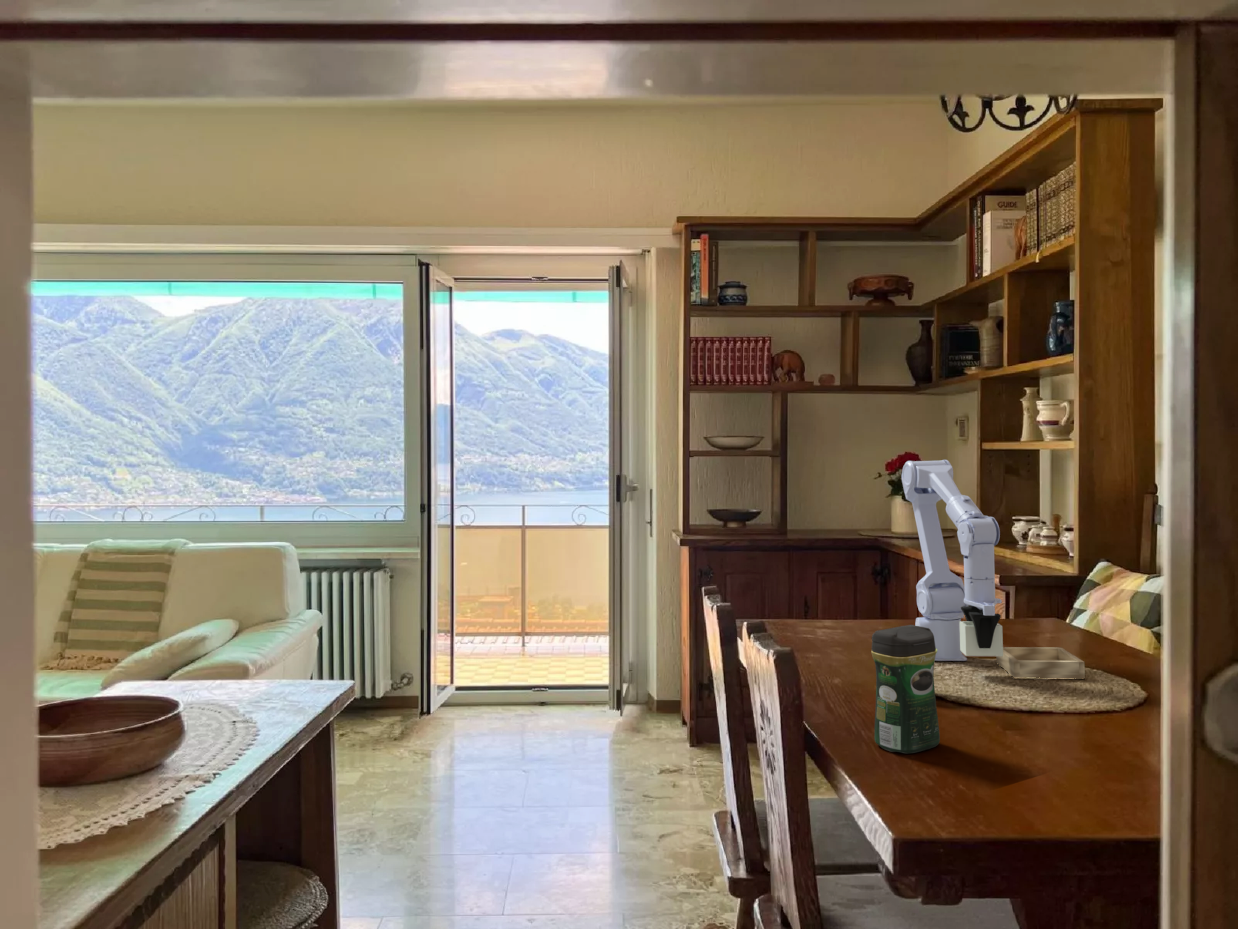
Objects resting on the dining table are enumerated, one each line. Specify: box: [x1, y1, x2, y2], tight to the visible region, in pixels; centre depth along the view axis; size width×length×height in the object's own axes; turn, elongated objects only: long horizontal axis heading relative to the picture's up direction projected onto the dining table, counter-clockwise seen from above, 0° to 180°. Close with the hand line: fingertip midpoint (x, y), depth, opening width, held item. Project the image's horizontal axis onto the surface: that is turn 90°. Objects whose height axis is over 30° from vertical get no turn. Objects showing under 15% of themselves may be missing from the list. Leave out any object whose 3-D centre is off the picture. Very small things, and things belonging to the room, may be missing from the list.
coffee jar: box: [870, 624, 941, 754], centre depth 136 cm, size 10×8×19 cm
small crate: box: [959, 620, 1004, 657], centre depth 176 cm, size 7×5×6 cm
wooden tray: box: [995, 646, 1086, 679], centre depth 178 cm, size 13×13×4 cm
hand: (981, 644), depth 176 cm, fingers closed on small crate, 5 cm apart
